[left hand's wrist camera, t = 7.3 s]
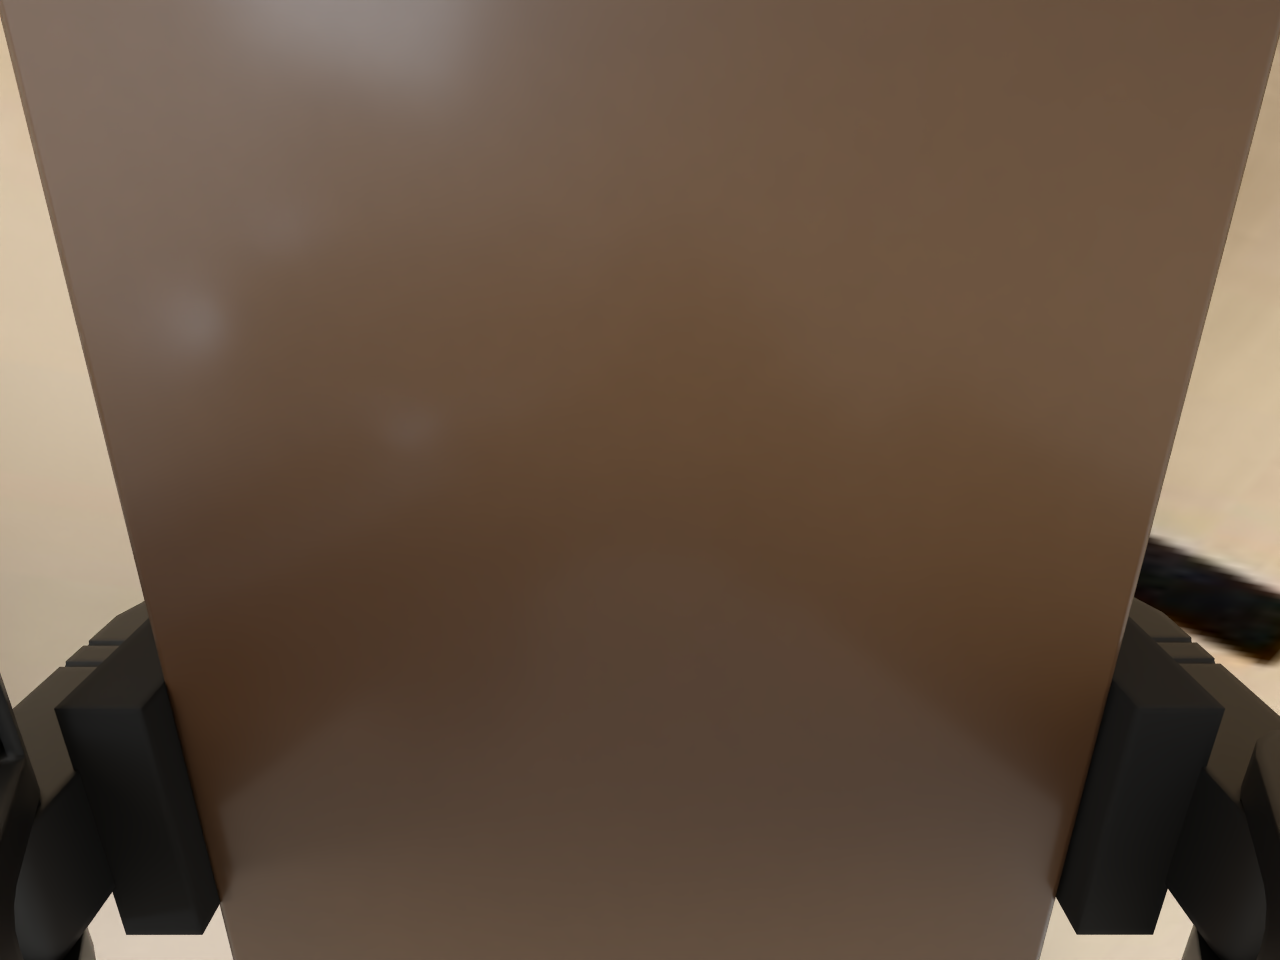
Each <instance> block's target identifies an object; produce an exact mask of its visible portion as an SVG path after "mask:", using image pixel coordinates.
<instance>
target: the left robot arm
mask: <svg viewBox="0 0 1280 960" xmlns="http://www.w3.org/2000/svg"><path fill="white" fill-rule="evenodd" d="M1167 889H1169V891H1170V892H1171V893H1172V895H1173V896H1174V898H1175V899H1176V900H1177V902H1178V903H1179V905H1180V906H1181V907H1182V909H1183V910H1184V912H1185V913H1186V914H1187V916H1188V917H1189V919H1190V920H1191V921H1192V923H1193V924H1194V925H1193V928H1192V931H1191V934H1190V936H1189V939H1188V942H1187V945H1186V948H1185V951H1184V954H1183V957H1182V960H1280V716H1279V715H1278V714H1277V713H1275V712H1274V711H1273V710H1272V709H1271V708H1270V707H1269V706H1268V705H1266V704H1265V703H1264V702H1263V701H1262V700H1261V699H1260V698H1259V697H1257V696H1256V695H1255V694H1254V693H1253V692H1252V691H1251V690H1250V689H1248V688H1247V687H1246V686H1245V685H1244V684H1243V683H1242V682H1241V681H1239V680H1238V679H1237V678H1236V677H1235V676H1234V675H1233V674H1232V673H1230V672H1229V671H1228V670H1227V669H1226V668H1225V667H1224V666H1223V665H1221V664H1215V661H1214V657H1212V656H1211V655H1210V654H1209V653H1208V652H1207V651H1206V650H1205V649H1203V648H1202V647H1201V646H1200V645H1199V644H1198V643H1192V642H1191V637H1190V636H1189V635H1188V634H1187V633H1185V632H1184V631H1183V630H1182V629H1181V628H1180V627H1179V626H1178V625H1176V624H1175V623H1174V622H1173V621H1172V620H1171V619H1170V618H1169V617H1167V616H1166V615H1165V614H1164V613H1162V612H1161V611H1159V610H1157V609H1155V608H1153V607H1151V606H1149V605H1147V604H1145V603H1144V602H1142V601H1140V600H1138V599H1136V598H1134V597H1133V601H1132V605H1131V608H1130V612H1129V616H1128V620H1127V624H1126V628H1125V632H1124V635H1123V639H1122V643H1121V647H1120V651H1119V655H1118V659H1117V662H1116V666H1115V670H1114V674H1113V678H1112V682H1111V685H1110V689H1109V693H1108V697H1107V701H1106V705H1105V709H1104V712H1103V716H1102V720H1101V724H1100V728H1099V732H1098V735H1097V739H1096V743H1095V747H1094V751H1093V755H1092V759H1091V762H1090V766H1089V770H1088V774H1087V778H1086V782H1085V786H1084V789H1083V793H1082V797H1081V801H1080V805H1079V809H1078V812H1077V816H1076V820H1075V824H1074V828H1073V832H1072V836H1071V839H1070V843H1069V847H1068V851H1067V855H1066V859H1065V863H1064V866H1063V870H1062V874H1061V878H1060V882H1059V886H1058V889H1057V893H1056V898H1057V900H1058V902H1059V903H1060V905H1061V907H1062V909H1063V911H1064V912H1065V914H1066V916H1067V918H1068V920H1069V921H1070V923H1071V925H1072V927H1073V929H1074V930H1075V932H1076V934H1077V935H1153V933H1154V930H1155V927H1156V924H1157V920H1158V917H1159V914H1160V911H1161V908H1162V905H1163V902H1164V899H1165V895H1166V892H1167ZM112 892H113V895H114V898H115V901H116V904H117V907H118V910H119V913H120V917H121V920H122V923H123V926H124V929H125V932H126V935H203V933H204V931H205V929H206V928H207V926H208V924H209V922H210V920H211V919H212V917H213V915H214V913H215V911H216V910H217V908H218V906H219V904H220V899H219V895H218V891H217V888H216V884H215V880H214V876H213V872H212V868H211V864H210V860H209V856H208V852H207V848H206V844H205V840H204V836H203V832H202V828H201V824H200V820H199V816H198V812H197V808H196V804H195V800H194V796H193V792H192V788H191V785H190V781H189V777H188V773H187V769H186V765H185V761H184V757H183V753H182V749H181V745H180V741H179V737H178V733H177V729H176V725H175V721H174V717H173V713H172V709H171V705H170V701H169V697H168V693H167V689H166V685H165V681H164V676H163V672H162V668H161V664H160V660H159V656H158V652H157V648H156V644H155V640H154V636H153V632H152V628H151V624H150V620H149V616H148V612H147V608H146V604H145V601H144V602H142V603H140V604H138V605H136V606H135V607H133V608H131V609H129V610H127V611H125V612H123V613H121V614H120V615H118V616H116V617H115V618H114V619H113V620H112V621H111V622H109V623H108V624H107V625H106V626H105V627H104V628H103V629H102V630H100V631H99V632H98V633H97V634H96V635H95V636H94V637H93V638H92V639H90V640H89V645H88V646H83V647H82V648H80V649H79V650H78V651H77V652H76V653H75V654H74V655H73V656H71V657H70V658H69V659H68V660H67V661H66V666H65V667H59V668H58V669H57V670H56V671H55V672H54V673H52V674H51V675H50V676H49V677H48V678H47V679H46V680H45V681H44V682H42V683H41V684H40V685H39V686H38V687H37V688H36V689H35V690H34V691H32V692H31V693H30V694H29V695H28V696H27V697H26V698H25V699H23V700H22V701H21V702H20V703H19V704H18V705H17V706H16V707H15V708H13V709H12V706H11V703H10V700H9V698H8V695H7V692H6V689H5V686H4V683H3V680H2V677H1V674H0V960H96V959H95V952H94V946H93V942H92V939H91V936H90V934H89V931H88V928H87V927H88V925H89V924H90V923H91V921H92V920H93V918H94V917H95V915H96V914H97V913H98V911H99V910H100V908H101V907H102V906H103V904H104V903H105V901H106V900H107V899H108V897H109V896H110V894H111V893H112Z"/></svg>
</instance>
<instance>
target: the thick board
mask: <svg viewBox="0 0 1280 960" xmlns="http://www.w3.org/2000/svg"><path fill="white" fill-rule="evenodd" d="M0 17H1V21H2V25H3V29H4V33H5V37H6V41H7V45H8V49H9V53H10V57H11V61H12V65H13V69H14V73H15V77H16V81H17V85H18V89H19V93H20V98H21V102H22V106H23V110H24V114H25V118H26V122H27V126H28V130H29V134H30V138H31V142H32V146H33V150H34V154H35V158H36V162H37V166H38V170H39V174H40V179H41V183H42V187H43V191H44V195H45V199H46V203H47V207H48V211H49V215H50V219H51V223H52V227H53V231H54V235H55V239H56V243H57V247H58V251H59V255H60V259H61V264H62V268H63V272H64V276H65V280H66V284H67V288H68V292H69V296H70V300H71V304H72V308H73V312H74V316H75V320H76V324H77V328H78V332H79V336H80V340H81V345H82V349H83V353H84V357H85V361H86V365H87V369H88V373H89V377H90V381H91V385H92V389H93V393H94V397H95V401H96V405H97V409H98V413H99V417H100V421H101V425H102V430H103V434H104V438H105V442H106V446H107V450H108V454H109V458H110V462H111V466H112V470H113V474H114V478H115V482H116V486H117V490H118V494H119V498H120V502H121V506H122V510H123V515H124V519H125V523H126V527H127V531H128V535H129V539H130V543H131V547H132V551H133V555H134V559H135V563H136V567H137V571H138V575H139V579H140V583H141V587H142V591H143V596H144V600H145V604H146V608H147V612H148V616H149V620H150V624H151V628H152V632H153V636H154V640H155V644H156V648H157V652H158V656H159V660H160V664H161V668H162V672H163V676H164V681H165V685H166V689H167V693H168V697H169V701H170V705H171V709H172V713H173V717H174V721H175V725H176V729H177V733H178V737H179V741H180V745H181V749H182V753H183V757H184V761H185V765H186V769H187V773H188V777H189V781H190V785H191V788H192V792H193V796H194V800H195V804H196V808H197V812H198V816H199V820H200V824H201V828H202V832H203V836H204V840H205V844H206V848H207V852H208V856H209V860H210V864H211V868H212V872H213V876H214V880H215V884H216V888H217V891H218V895H219V899H220V907H221V911H222V915H223V919H224V923H225V927H226V932H227V936H228V940H229V944H230V948H231V952H232V956H233V960H1039V959H1040V955H1041V951H1042V947H1043V943H1044V939H1045V936H1046V932H1047V928H1048V924H1049V920H1050V916H1051V913H1052V909H1053V905H1054V901H1055V897H1056V893H1057V889H1058V886H1059V882H1060V878H1061V874H1062V870H1063V866H1064V863H1065V859H1066V855H1067V851H1068V847H1069V843H1070V839H1071V836H1072V832H1073V828H1074V824H1075V820H1076V816H1077V812H1078V809H1079V805H1080V801H1081V797H1082V793H1083V789H1084V786H1085V782H1086V778H1087V774H1088V770H1089V766H1090V762H1091V759H1092V755H1093V751H1094V747H1095V743H1096V739H1097V735H1098V732H1099V728H1100V724H1101V720H1102V716H1103V712H1104V709H1105V705H1106V701H1107V697H1108V693H1109V689H1110V685H1111V682H1112V678H1113V674H1114V670H1115V666H1116V662H1117V659H1118V655H1119V651H1120V647H1121V643H1122V639H1123V635H1124V632H1125V628H1126V624H1127V620H1128V616H1129V612H1130V608H1131V605H1132V601H1133V597H1134V593H1135V589H1136V585H1137V582H1138V578H1139V574H1140V570H1141V566H1142V562H1143V558H1144V555H1145V551H1146V547H1147V543H1148V539H1149V535H1150V532H1151V528H1152V524H1153V520H1154V516H1155V512H1156V508H1157V505H1158V501H1159V497H1160V493H1161V489H1162V485H1163V481H1164V478H1165V474H1166V470H1167V466H1168V462H1169V458H1170V455H1171V451H1172V447H1173V443H1174V439H1175V435H1176V431H1177V428H1178V424H1179V420H1180V416H1181V412H1182V408H1183V404H1184V401H1185V397H1186V393H1187V389H1188V385H1189V381H1190V378H1191V374H1192V370H1193V366H1194V362H1195V358H1196V354H1197V351H1198V347H1199V343H1200V339H1201V335H1202V331H1203V328H1204V324H1205V320H1206V316H1207V312H1208V308H1209V304H1210V301H1211V297H1212V293H1213V289H1214V285H1215V281H1216V277H1217V274H1218V270H1219V266H1220V262H1221V258H1222V254H1223V251H1224V247H1225V243H1226V239H1227V235H1228V231H1229V227H1230V224H1231V220H1232V216H1233V212H1234V208H1235V204H1236V201H1237V197H1238V193H1239V189H1240V185H1241V181H1242V177H1243V174H1244V170H1245V166H1246V162H1247V158H1248V154H1249V150H1250V147H1251V143H1252V139H1253V135H1254V131H1255V127H1256V124H1257V120H1258V116H1259V112H1260V108H1261V104H1262V100H1263V97H1264V93H1265V89H1266V85H1267V81H1268V77H1269V73H1270V70H1271V66H1272V62H1273V58H1274V54H1275V50H1276V47H1277V43H1278V39H1279V35H1280V0H0Z"/></svg>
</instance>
